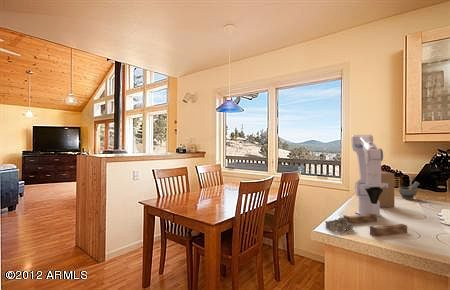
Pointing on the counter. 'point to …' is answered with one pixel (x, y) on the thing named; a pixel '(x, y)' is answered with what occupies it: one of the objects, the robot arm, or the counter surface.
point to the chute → (377, 230)
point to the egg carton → (339, 224)
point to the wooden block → (387, 190)
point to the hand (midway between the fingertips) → (373, 203)
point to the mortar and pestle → (409, 191)
